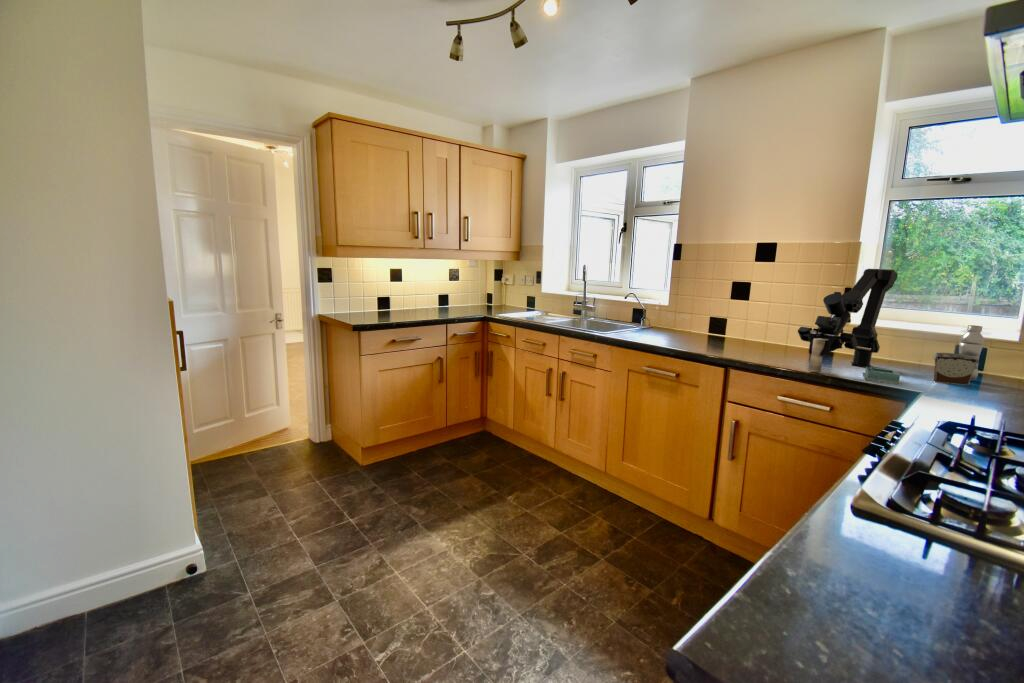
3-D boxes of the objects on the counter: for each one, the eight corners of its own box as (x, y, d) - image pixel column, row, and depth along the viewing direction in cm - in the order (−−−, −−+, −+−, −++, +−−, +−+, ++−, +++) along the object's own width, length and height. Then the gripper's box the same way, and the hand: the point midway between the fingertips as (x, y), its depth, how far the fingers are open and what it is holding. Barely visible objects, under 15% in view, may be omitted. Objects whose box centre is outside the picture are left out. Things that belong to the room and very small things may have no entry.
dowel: (808, 369, 173) (813, 338, 171) (820, 371, 172) (825, 339, 169) (808, 371, 170) (813, 339, 168) (820, 372, 169) (825, 340, 166)
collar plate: (862, 374, 171) (863, 366, 170) (896, 379, 165) (898, 370, 165) (864, 379, 162) (866, 370, 162) (901, 385, 157) (903, 375, 156)
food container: (963, 381, 166) (969, 354, 164) (973, 385, 160) (980, 357, 158) (921, 377, 170) (926, 351, 168) (930, 381, 164) (935, 354, 162)
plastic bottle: (981, 383, 164) (993, 327, 161) (959, 381, 166) (971, 326, 162) (967, 378, 171) (979, 325, 167) (946, 377, 172) (957, 324, 168)
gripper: (803, 305, 177) (782, 335, 173) (858, 311, 161) (836, 344, 157) (812, 325, 182) (792, 354, 179) (866, 332, 166) (845, 364, 163)
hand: (815, 354), depth 169 cm, fingers closed on dowel, 4 cm apart
